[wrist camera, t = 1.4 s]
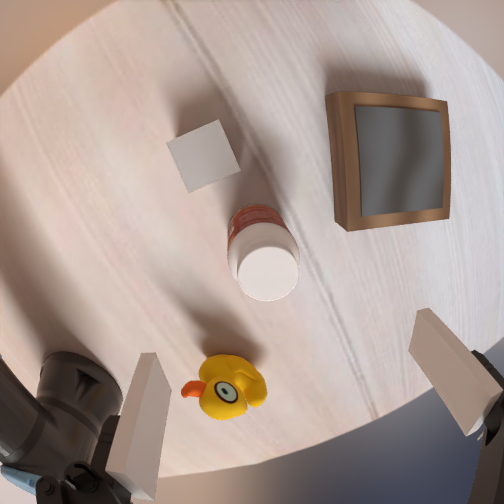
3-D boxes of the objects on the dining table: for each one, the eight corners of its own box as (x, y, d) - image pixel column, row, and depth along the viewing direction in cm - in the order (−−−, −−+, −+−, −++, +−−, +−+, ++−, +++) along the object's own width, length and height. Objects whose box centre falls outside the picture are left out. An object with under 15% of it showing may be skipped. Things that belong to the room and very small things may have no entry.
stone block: (195, 185, 30) (188, 193, 25) (176, 142, 28) (166, 142, 24) (239, 166, 30) (240, 170, 25) (220, 123, 28) (218, 119, 23)
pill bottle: (220, 211, 31) (216, 247, 21) (276, 197, 31) (300, 225, 21) (236, 263, 33) (239, 318, 23) (288, 249, 33) (314, 298, 23)
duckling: (181, 359, 38) (171, 414, 29) (196, 332, 37) (188, 388, 27) (252, 385, 41) (257, 438, 31) (271, 362, 39) (281, 416, 30)
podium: (334, 221, 32) (348, 232, 28) (324, 97, 27) (338, 91, 23) (430, 210, 33) (450, 219, 29) (427, 102, 28) (448, 101, 24)
